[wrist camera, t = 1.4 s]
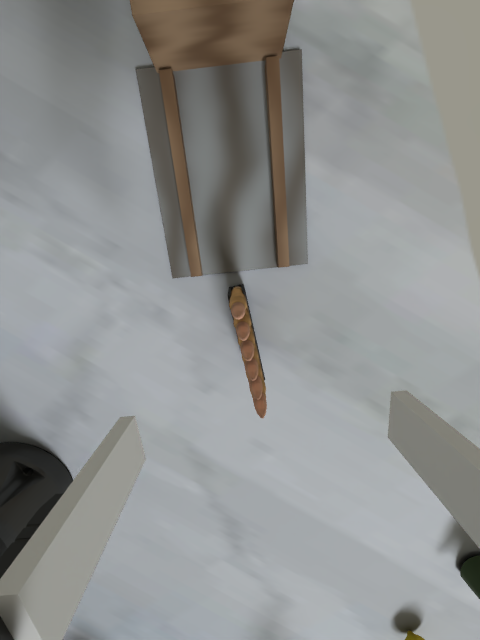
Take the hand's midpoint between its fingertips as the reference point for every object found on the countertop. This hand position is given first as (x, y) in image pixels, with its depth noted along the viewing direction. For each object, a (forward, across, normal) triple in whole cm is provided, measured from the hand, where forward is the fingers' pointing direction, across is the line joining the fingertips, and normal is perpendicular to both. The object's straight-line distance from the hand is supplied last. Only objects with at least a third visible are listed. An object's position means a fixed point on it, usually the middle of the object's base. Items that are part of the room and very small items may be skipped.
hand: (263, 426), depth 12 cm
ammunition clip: (+18, 0, 0) cm, 19 cm away
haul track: (+18, 0, +19) cm, 26 cm away
